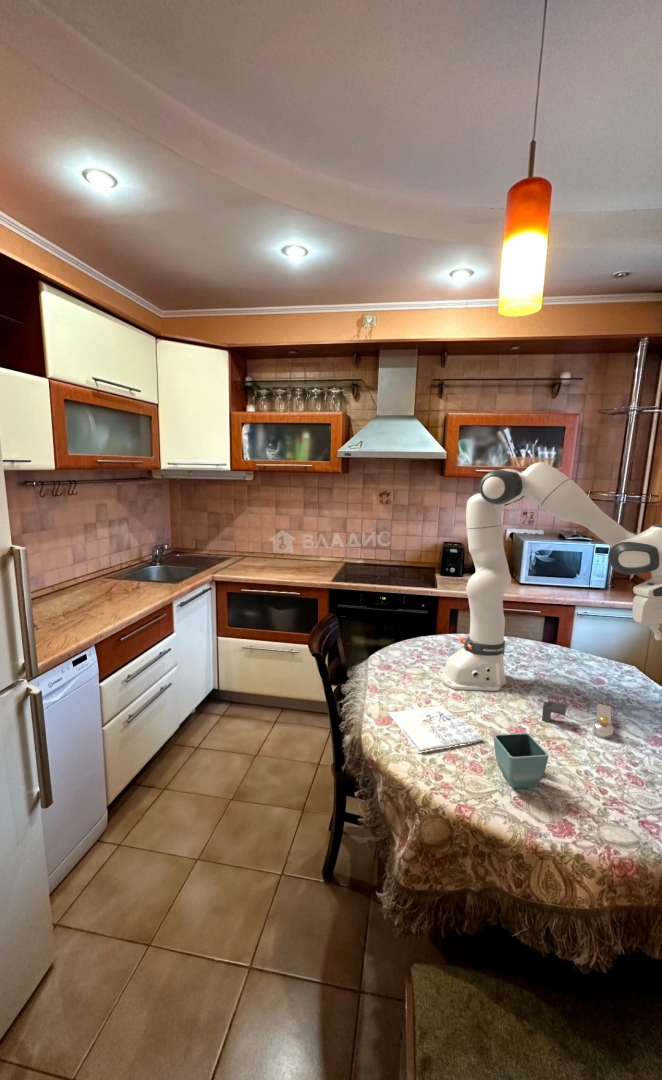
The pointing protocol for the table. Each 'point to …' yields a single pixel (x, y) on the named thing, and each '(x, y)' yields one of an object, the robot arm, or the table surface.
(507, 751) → the flower pot
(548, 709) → the pintle base
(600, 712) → the link
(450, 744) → the white illustrated notebook
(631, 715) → the table surface
